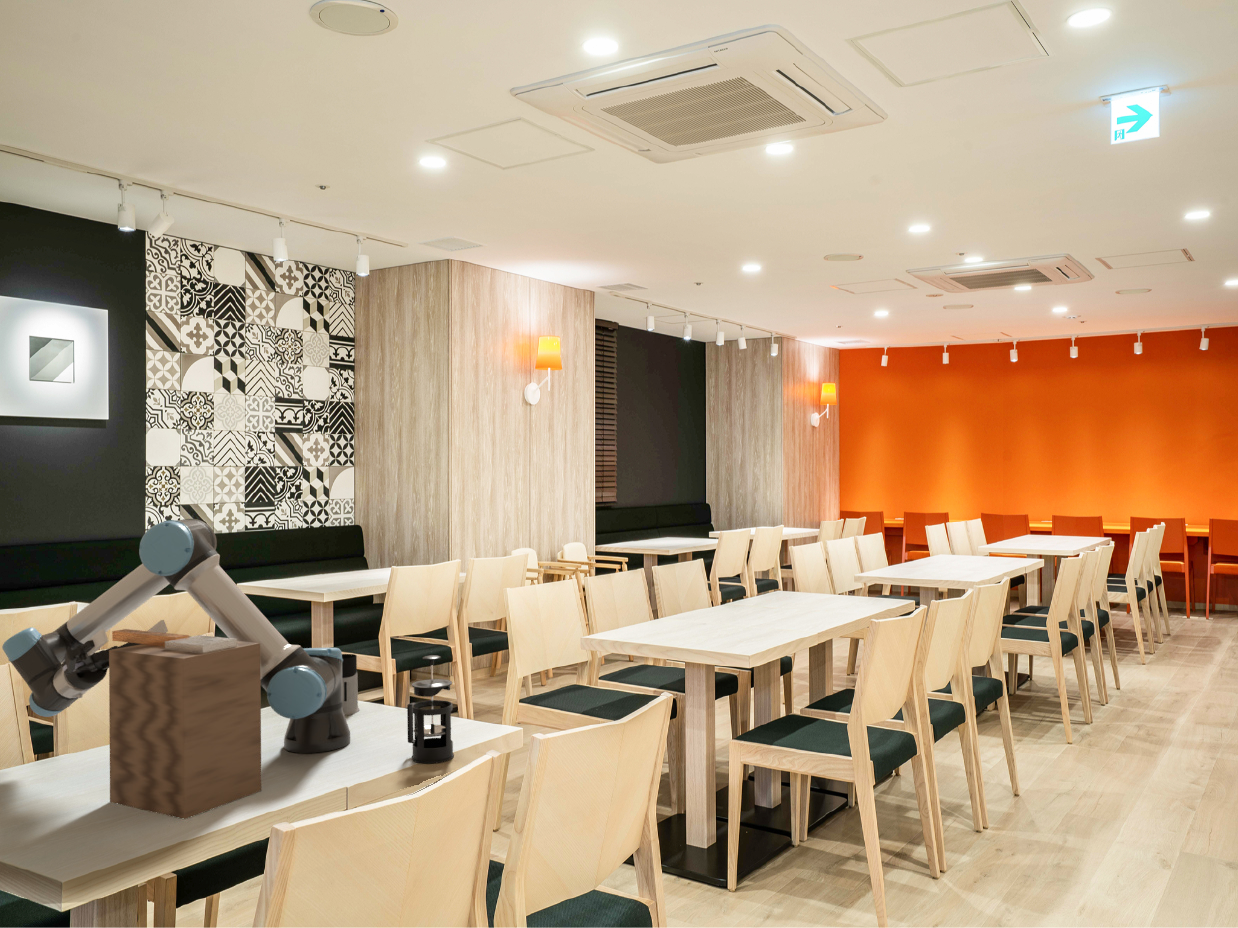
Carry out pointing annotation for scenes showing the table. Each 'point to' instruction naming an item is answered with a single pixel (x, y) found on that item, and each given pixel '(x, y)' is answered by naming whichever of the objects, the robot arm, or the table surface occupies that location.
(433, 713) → the french press
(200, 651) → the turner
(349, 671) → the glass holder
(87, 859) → the table surface
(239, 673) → the walnut stand
